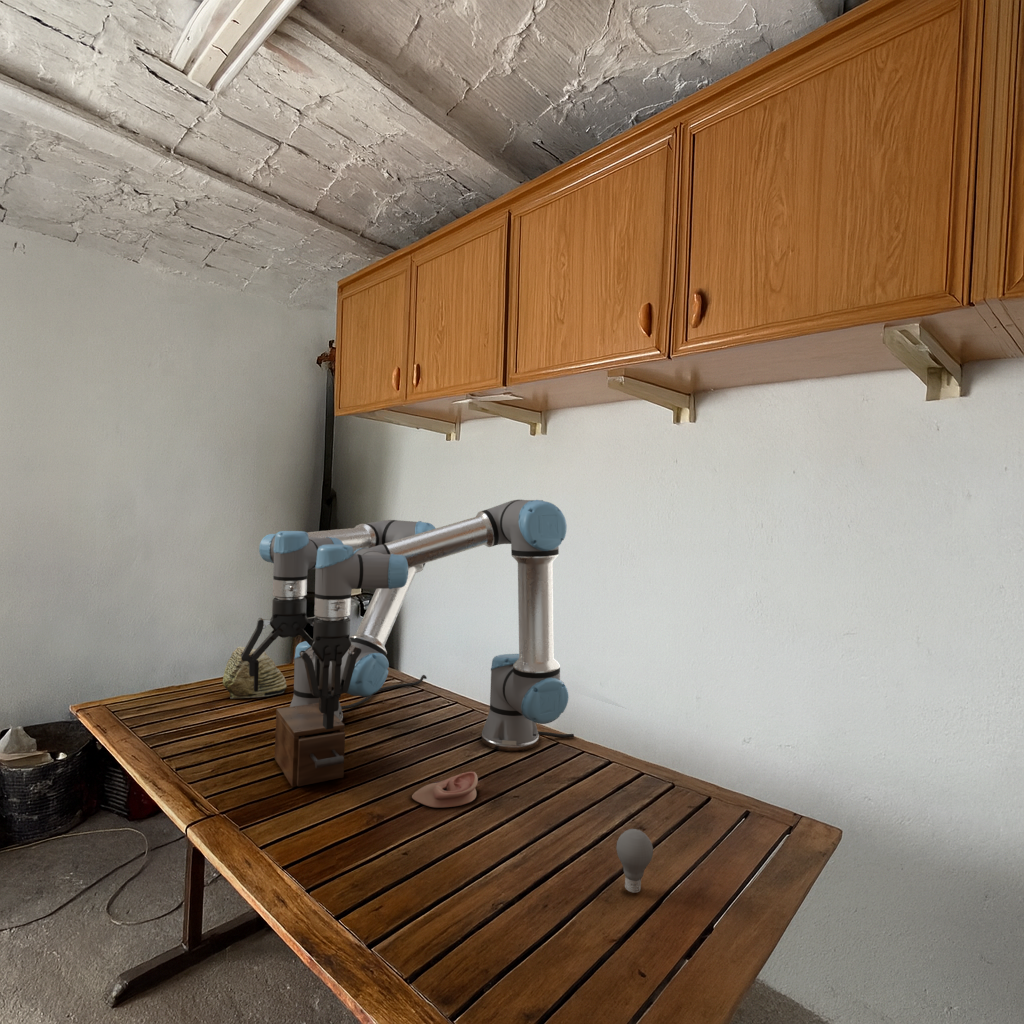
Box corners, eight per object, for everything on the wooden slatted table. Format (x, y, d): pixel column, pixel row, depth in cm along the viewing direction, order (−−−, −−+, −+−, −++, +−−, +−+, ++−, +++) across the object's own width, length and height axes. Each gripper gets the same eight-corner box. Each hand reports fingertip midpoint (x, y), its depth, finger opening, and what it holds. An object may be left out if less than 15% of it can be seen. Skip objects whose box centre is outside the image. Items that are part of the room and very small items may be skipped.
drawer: (352, 788, 136) (354, 742, 136) (305, 798, 131) (307, 750, 130) (323, 752, 154) (324, 711, 154) (280, 759, 149) (282, 717, 149)
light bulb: (610, 879, 108) (613, 822, 108) (644, 879, 109) (647, 822, 109) (619, 902, 102) (622, 840, 102) (655, 901, 103) (658, 840, 103)
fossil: (218, 695, 195) (220, 647, 195) (278, 685, 208) (279, 640, 207) (228, 703, 189) (230, 653, 188) (289, 692, 201) (290, 645, 201)
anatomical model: (407, 784, 132) (425, 763, 143) (406, 803, 132) (424, 780, 143) (468, 793, 129) (482, 770, 140) (467, 812, 129) (481, 788, 141)
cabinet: (342, 777, 143) (344, 724, 143) (292, 787, 137) (294, 732, 137) (320, 750, 158) (322, 702, 158) (274, 758, 152) (276, 708, 152)
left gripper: (231, 601, 139) (229, 697, 140) (346, 597, 150) (343, 686, 151) (231, 596, 146) (228, 687, 147) (341, 593, 157) (338, 677, 157)
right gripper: (305, 622, 128) (301, 737, 129) (367, 618, 135) (363, 727, 136) (296, 615, 135) (292, 725, 135) (356, 612, 142) (352, 716, 142)
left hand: (287, 687), depth 149 cm, fingers open, 13 cm apart
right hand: (328, 726), depth 135 cm, fingers closed
